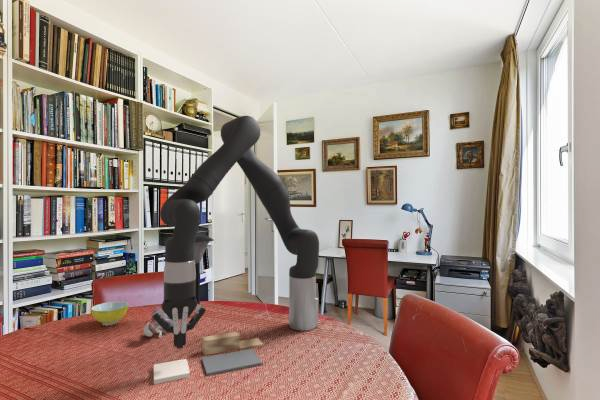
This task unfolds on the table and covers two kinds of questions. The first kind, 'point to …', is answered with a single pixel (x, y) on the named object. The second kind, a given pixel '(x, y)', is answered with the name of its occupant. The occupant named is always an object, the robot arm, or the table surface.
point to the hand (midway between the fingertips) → (179, 347)
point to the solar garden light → (200, 248)
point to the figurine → (156, 325)
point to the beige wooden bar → (227, 343)
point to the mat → (230, 361)
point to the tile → (171, 371)
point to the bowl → (109, 312)
